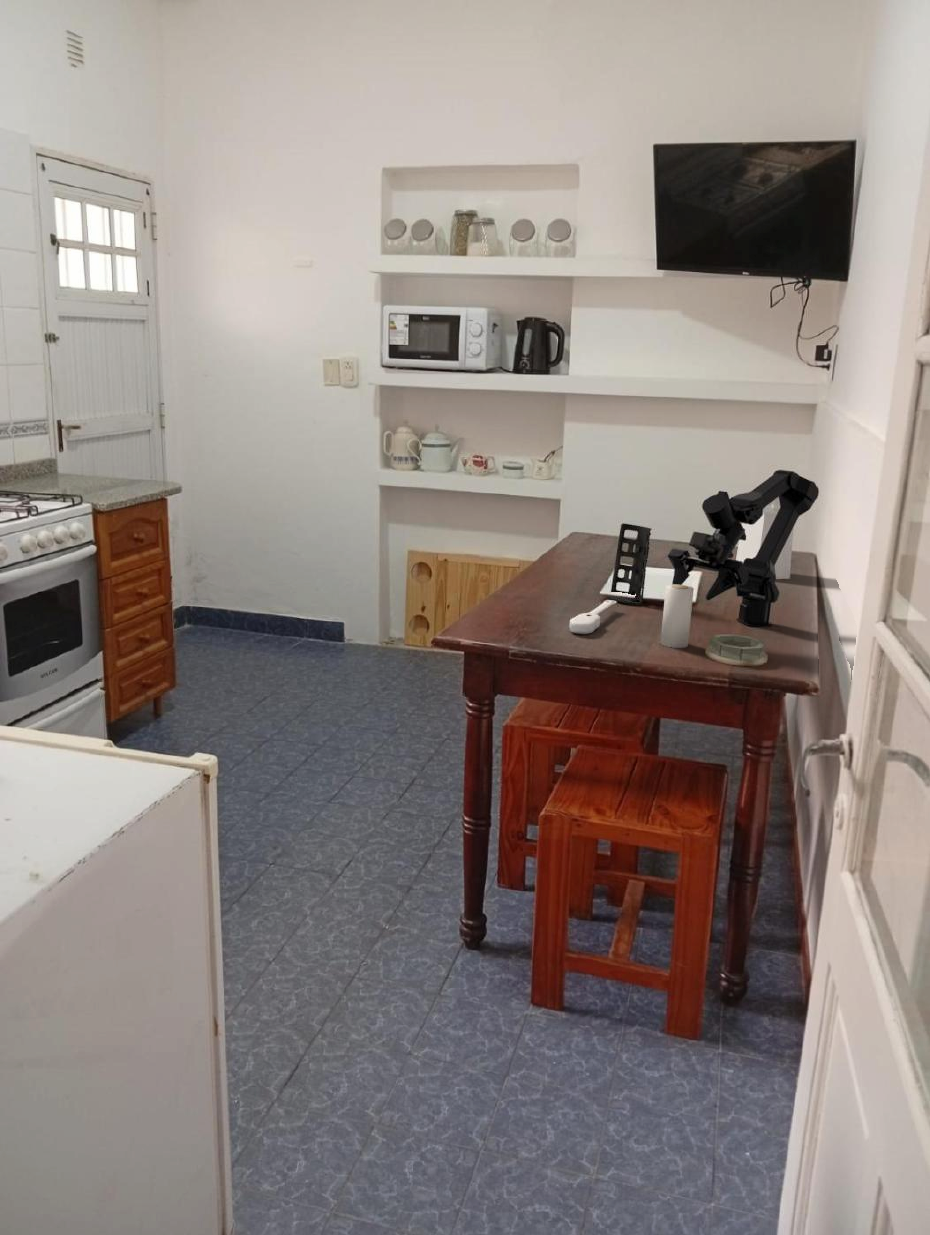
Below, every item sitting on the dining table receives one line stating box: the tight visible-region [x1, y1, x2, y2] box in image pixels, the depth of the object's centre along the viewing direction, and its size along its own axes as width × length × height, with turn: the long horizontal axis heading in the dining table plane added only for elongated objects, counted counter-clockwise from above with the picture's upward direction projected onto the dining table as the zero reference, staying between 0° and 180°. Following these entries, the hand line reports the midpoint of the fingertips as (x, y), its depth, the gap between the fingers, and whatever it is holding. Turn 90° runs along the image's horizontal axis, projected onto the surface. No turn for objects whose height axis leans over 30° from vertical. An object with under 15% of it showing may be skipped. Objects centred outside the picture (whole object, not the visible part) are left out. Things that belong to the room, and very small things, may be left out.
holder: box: [609, 523, 652, 607], centre depth 258 cm, size 11×8×20 cm
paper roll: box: [659, 584, 694, 649], centre depth 220 cm, size 6×6×13 cm
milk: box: [735, 497, 795, 580], centre depth 299 cm, size 12×12×26 cm
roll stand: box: [704, 633, 769, 667], centre depth 213 cm, size 13×13×4 cm
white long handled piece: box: [569, 599, 618, 635], centre depth 237 cm, size 28×6×3 cm, turn 156°
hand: (689, 595), depth 221 cm, fingers open, 9 cm apart
